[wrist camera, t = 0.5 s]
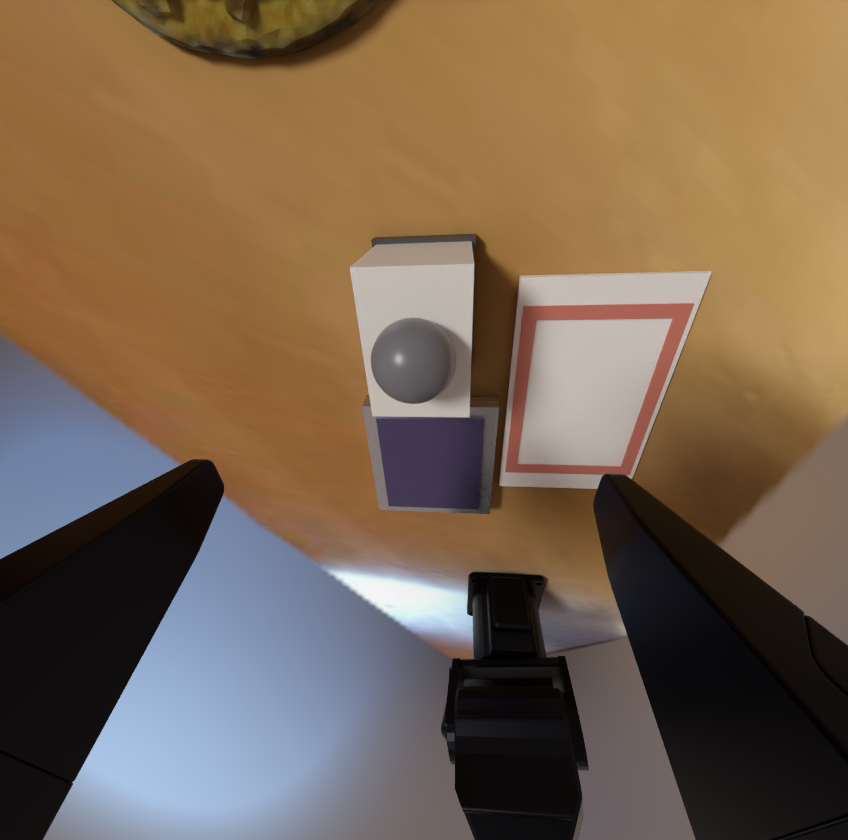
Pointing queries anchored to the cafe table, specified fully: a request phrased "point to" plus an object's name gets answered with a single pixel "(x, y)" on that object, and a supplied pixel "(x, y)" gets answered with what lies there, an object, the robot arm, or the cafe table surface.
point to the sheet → (591, 372)
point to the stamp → (417, 323)
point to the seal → (246, 23)
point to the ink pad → (434, 459)
